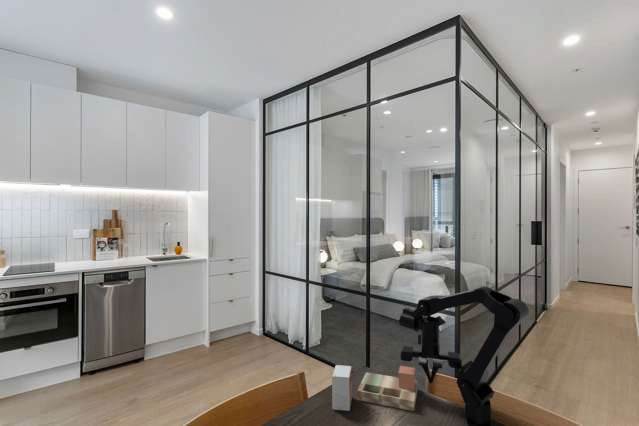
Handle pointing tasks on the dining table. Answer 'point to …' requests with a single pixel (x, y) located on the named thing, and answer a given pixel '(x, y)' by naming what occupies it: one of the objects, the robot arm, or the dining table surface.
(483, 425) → the robot arm
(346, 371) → the small box
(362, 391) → the beige divided tray
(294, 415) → the dining table surface
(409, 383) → the block
